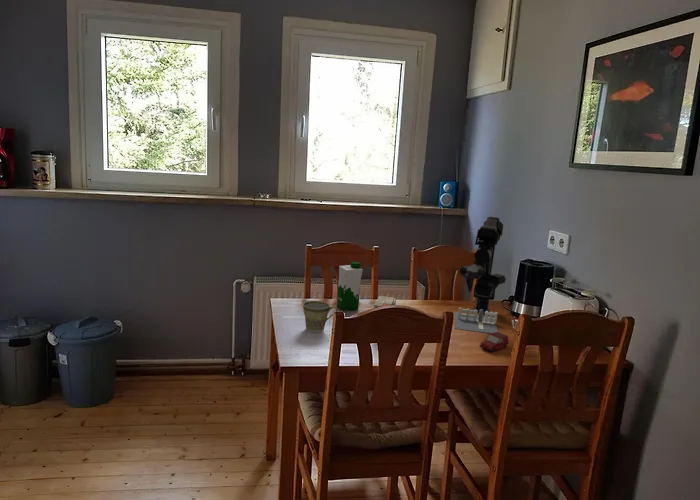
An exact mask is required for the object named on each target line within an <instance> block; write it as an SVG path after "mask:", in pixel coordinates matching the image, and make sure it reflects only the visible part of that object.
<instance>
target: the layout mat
mask: <svg viewBox="0 0 700 500" xmlns="http://www.w3.org/2000/svg"><path fill="white" fill-rule="evenodd" d="M466 313H467V312H461V314H466ZM469 315H474V313H469ZM484 317H485V315H483V319H482V322H478V319H479V314H477V318H476V320H473V319H474V318H470V317H469V318H468V319H466V317H463V316H460V318H458V311H454V329H456V330H460V331H461V330H462V331H469V332H477V333H481V334H482V333H483V334H491V333H494V332H499V330H498V327H497V322H496V323H494V321H492V322H491V323H490V322H489V320H487V322H484ZM488 317H490V315H488ZM492 318H494V316H492Z"/></svg>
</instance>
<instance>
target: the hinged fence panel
mask: <svg viewBox="0 0 700 500" xmlns="http://www.w3.org/2000/svg"><path fill="white" fill-rule="evenodd" d="M457 312H458V318H460V316H463V317H466V319H468V318H469V317H470V318H474V319H473V320H476V318H477V315H479V312H478V311H477V310H475V311H474V310H472V309H470V308H466V309H465V308H462V307H458V310H457ZM461 313H466V314H461ZM469 314H474V315H469Z"/></svg>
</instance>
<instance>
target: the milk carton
mask: <svg viewBox="0 0 700 500" xmlns="http://www.w3.org/2000/svg"><path fill="white" fill-rule="evenodd" d="M363 270H364V269H363V268H362V267H361V262H360V261H350V264H348V265H347V264H345V265H339V266H338V285H337V286H338V287H337V298H336V299H337V300H336V306H337V307H338V308H340V309H341V310H342V311H356V310H358V311H359V306H360V305H359V304H360V294H361V293H360V292H361V282H362V281H361V280H362V275H363V272H364V271H363Z"/></svg>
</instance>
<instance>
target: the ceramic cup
mask: <svg viewBox="0 0 700 500" xmlns="http://www.w3.org/2000/svg"><path fill="white" fill-rule="evenodd" d="M302 307H303V315H304V320H305V321H304V323H305V329H306V332H308V333H312V334H313V333H314V334H319V333H322V332H324V330H325V326H326V322H328V320H329V319H330V318H332V317H333V316H334V315H333V314H334V313H332V314H331V315H329V317H328V314H329V313H330V311H331V310H332V309H335V310H336V311H335V312H337V313H338V308H337V307H336V306H331V305H330V304H329V303H328V302H325V301H322V300H307V301H305V302H303V304H302Z"/></svg>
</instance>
